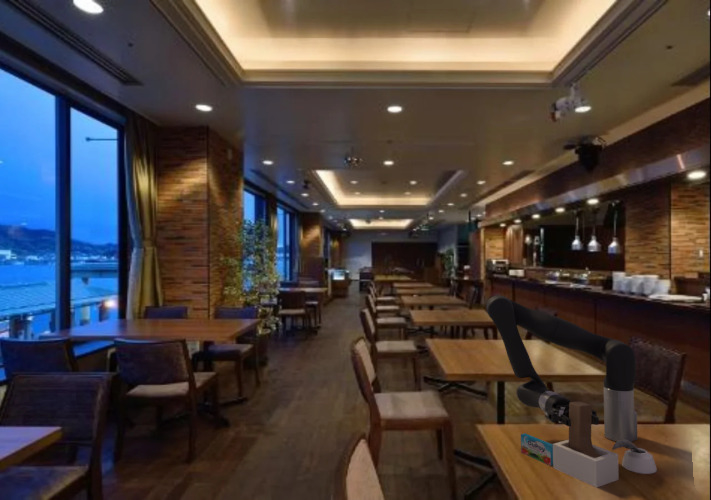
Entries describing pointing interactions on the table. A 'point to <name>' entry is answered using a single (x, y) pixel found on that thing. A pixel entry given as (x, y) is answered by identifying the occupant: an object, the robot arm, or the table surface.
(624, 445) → the inkwell
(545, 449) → the yogurt
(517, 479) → the table surface
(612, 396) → the robot arm
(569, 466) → the base block
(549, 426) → the table surface
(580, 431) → the wooden block
